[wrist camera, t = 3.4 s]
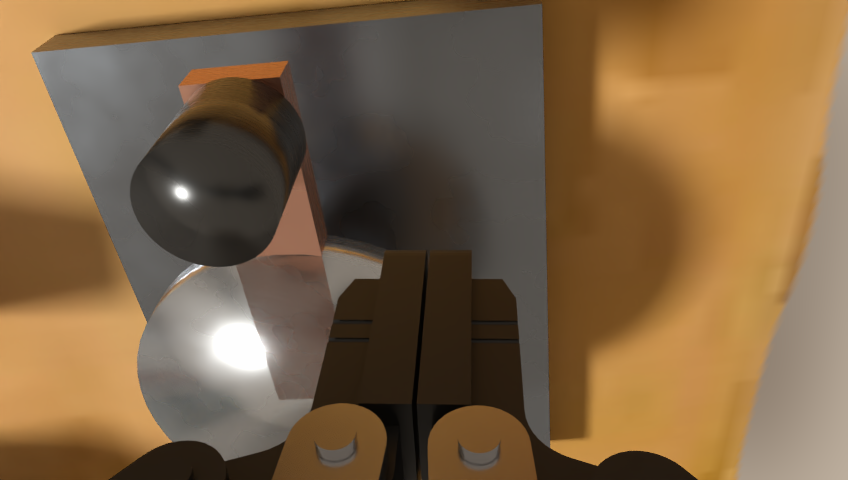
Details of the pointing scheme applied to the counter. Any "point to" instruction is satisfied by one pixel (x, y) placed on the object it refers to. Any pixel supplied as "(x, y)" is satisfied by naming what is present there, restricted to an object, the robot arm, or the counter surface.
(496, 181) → the base
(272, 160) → the handwheel
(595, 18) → the counter surface
